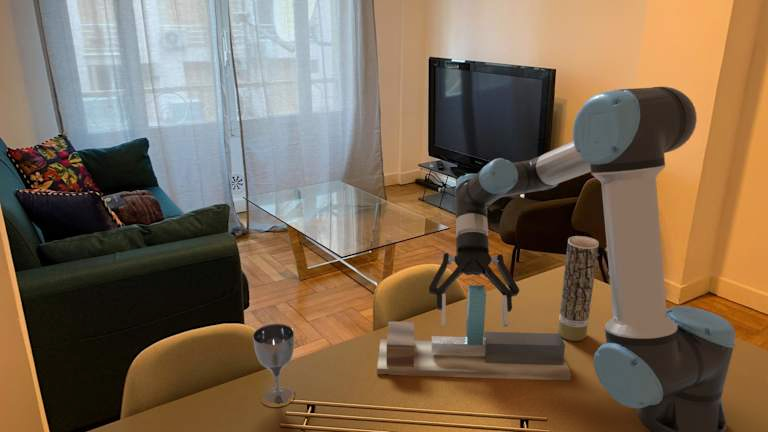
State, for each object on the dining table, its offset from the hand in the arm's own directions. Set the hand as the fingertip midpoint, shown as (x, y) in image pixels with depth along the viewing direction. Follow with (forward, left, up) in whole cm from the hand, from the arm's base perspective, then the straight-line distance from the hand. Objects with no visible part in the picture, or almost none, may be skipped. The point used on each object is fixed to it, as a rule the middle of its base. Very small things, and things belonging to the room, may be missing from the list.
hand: (474, 324), depth 127 cm
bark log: (+14, -26, -10) cm, 31 cm away
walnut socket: (+1, +16, -9) cm, 18 cm away
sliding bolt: (+1, -4, -8) cm, 9 cm away
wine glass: (-14, +41, -10) cm, 45 cm away
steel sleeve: (+1, -11, -9) cm, 14 cm away
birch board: (+1, 0, -10) cm, 10 cm away
